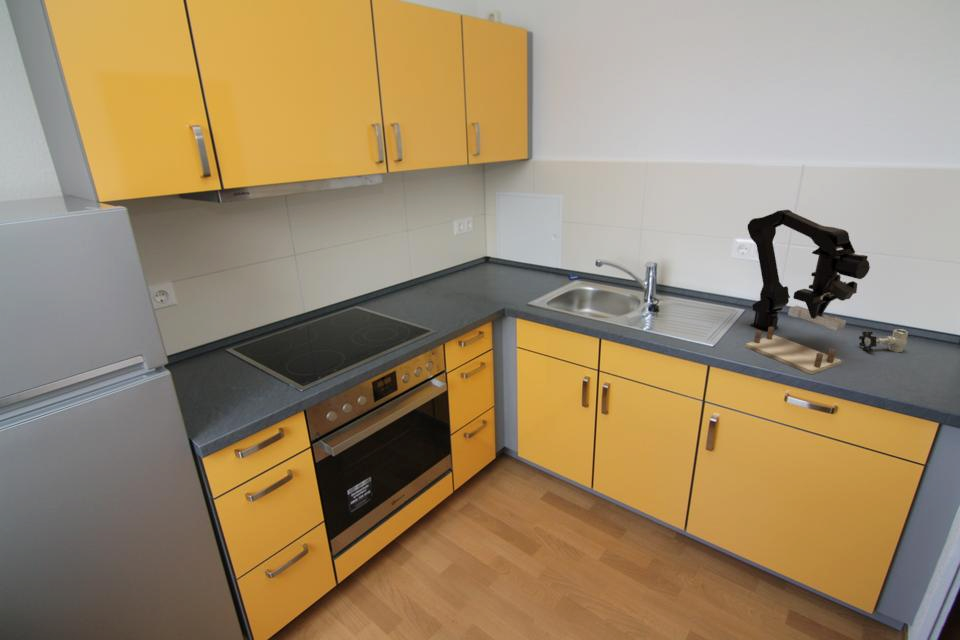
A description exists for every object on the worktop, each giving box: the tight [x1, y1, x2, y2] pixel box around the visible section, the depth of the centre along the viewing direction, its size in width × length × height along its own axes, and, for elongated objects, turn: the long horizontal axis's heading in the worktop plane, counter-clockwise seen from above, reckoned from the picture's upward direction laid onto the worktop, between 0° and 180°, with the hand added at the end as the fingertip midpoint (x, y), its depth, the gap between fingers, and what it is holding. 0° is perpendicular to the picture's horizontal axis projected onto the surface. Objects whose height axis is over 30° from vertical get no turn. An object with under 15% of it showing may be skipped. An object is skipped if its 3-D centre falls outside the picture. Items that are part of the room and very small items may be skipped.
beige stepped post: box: [787, 305, 847, 331], centre depth 160 cm, size 16×4×2 cm, turn 26°
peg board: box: [744, 327, 843, 375], centre depth 157 cm, size 22×14×5 cm, turn 26°
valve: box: [858, 328, 909, 353], centre depth 158 cm, size 7×7×12 cm
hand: (815, 317), depth 160 cm, fingers closed on beige stepped post, 2 cm apart
